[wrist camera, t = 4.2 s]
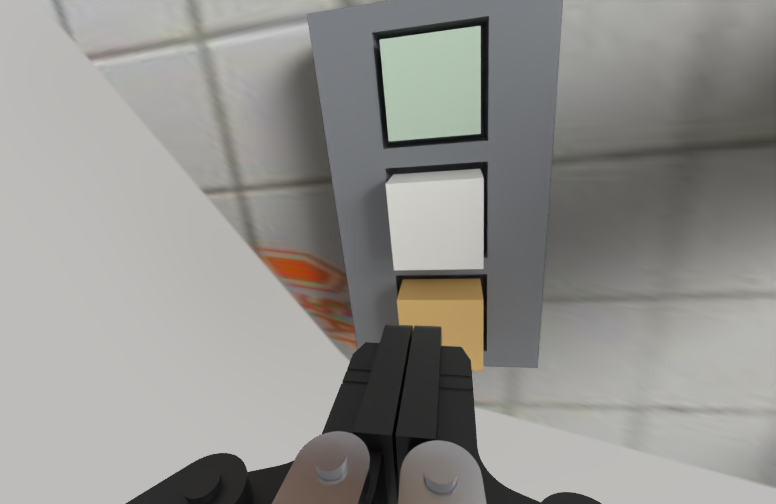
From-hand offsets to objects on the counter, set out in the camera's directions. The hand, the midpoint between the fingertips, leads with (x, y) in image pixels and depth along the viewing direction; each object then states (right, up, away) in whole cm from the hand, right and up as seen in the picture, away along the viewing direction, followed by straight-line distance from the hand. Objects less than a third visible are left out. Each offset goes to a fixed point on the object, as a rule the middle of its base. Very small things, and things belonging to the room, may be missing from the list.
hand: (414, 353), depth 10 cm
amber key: (+2, 0, +8) cm, 8 cm away
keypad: (+2, +6, +9) cm, 11 cm away
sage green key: (+1, +10, +5) cm, 11 cm away
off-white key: (+1, +4, +6) cm, 8 cm away
